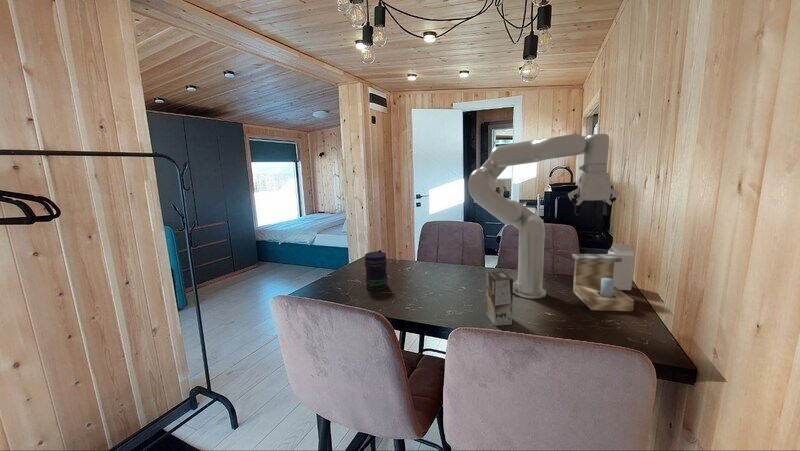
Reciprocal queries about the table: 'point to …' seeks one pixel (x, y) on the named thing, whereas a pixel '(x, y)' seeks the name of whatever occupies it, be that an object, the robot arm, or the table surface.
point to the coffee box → (499, 298)
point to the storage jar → (376, 270)
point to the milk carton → (623, 266)
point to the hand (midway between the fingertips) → (591, 215)
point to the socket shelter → (598, 282)
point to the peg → (607, 287)
